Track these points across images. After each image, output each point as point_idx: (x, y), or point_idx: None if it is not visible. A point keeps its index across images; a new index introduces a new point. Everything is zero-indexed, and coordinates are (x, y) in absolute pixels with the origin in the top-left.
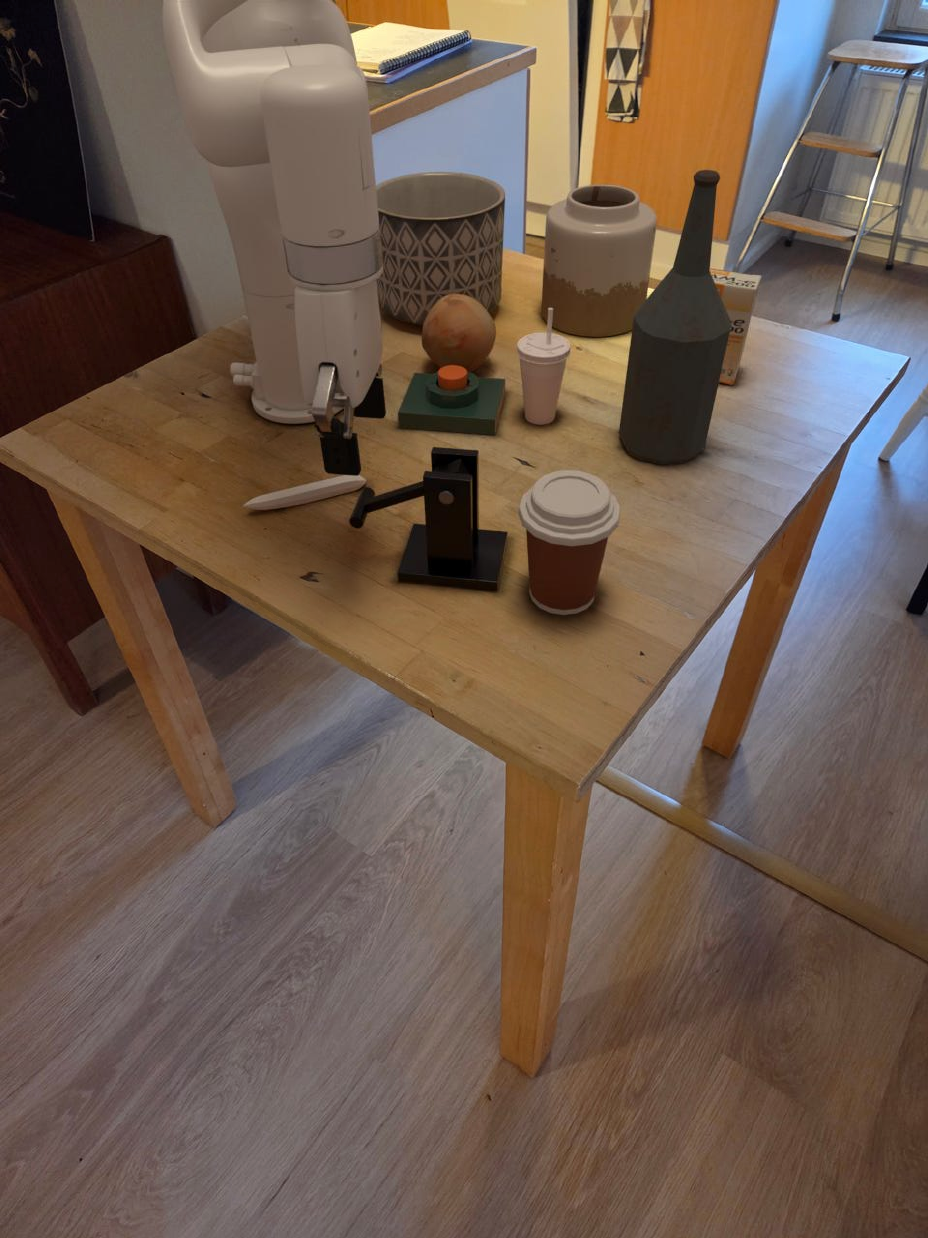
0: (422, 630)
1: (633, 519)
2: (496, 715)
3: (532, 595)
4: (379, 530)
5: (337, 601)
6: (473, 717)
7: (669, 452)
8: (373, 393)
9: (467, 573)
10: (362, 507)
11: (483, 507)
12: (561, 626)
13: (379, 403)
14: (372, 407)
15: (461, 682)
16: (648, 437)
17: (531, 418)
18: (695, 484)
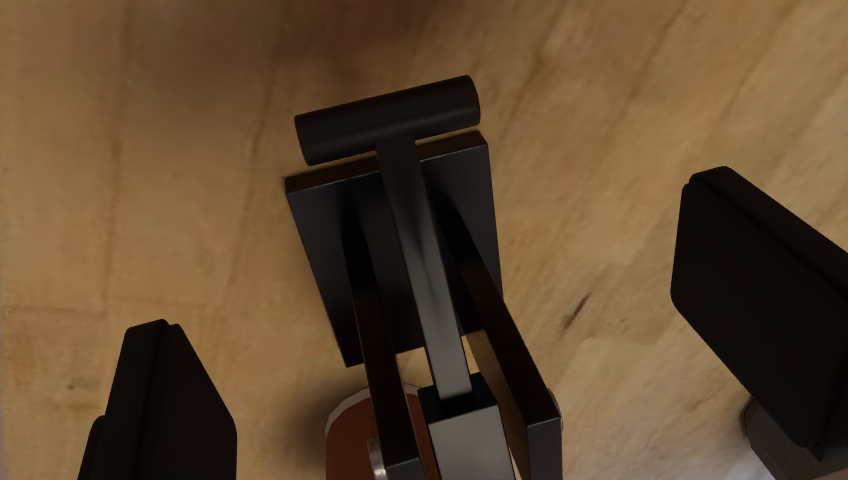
0: (161, 289)
1: (596, 430)
2: (44, 460)
3: (344, 410)
4: (463, 39)
5: (132, 71)
6: (12, 441)
7: (757, 443)
8: (760, 373)
9: (349, 317)
10: (365, 146)
11: (600, 228)
12: (301, 449)
13: (720, 347)
14: (708, 301)
15: (75, 397)
16: (787, 437)
17: None
18: (692, 458)
